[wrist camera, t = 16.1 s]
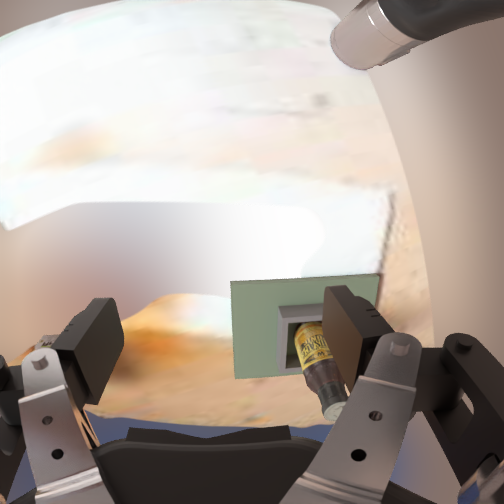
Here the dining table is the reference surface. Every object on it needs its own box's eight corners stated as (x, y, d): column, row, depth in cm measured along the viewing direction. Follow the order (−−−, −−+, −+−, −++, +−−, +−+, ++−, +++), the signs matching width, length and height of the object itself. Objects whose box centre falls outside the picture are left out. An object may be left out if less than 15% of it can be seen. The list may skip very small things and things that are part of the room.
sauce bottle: (323, 312, 52) (366, 387, 33) (327, 339, 54) (365, 416, 35) (287, 322, 52) (315, 403, 33) (293, 349, 54) (320, 431, 35)
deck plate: (375, 273, 52) (389, 285, 47) (359, 361, 58) (369, 377, 53) (230, 281, 50) (231, 296, 45) (234, 374, 56) (235, 393, 51)
